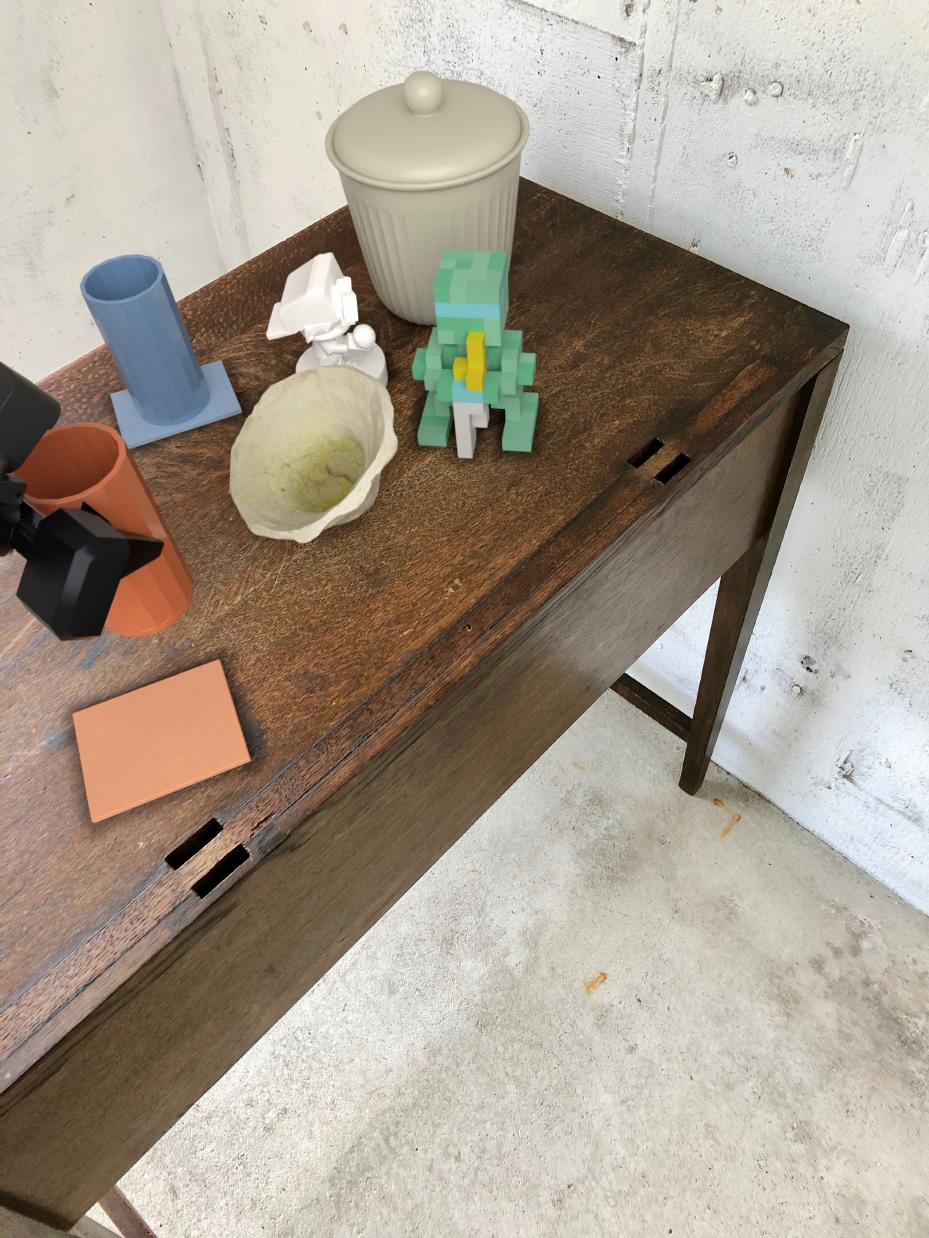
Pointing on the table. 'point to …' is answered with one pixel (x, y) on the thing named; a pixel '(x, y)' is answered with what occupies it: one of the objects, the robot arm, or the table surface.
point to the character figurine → (326, 319)
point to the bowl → (312, 452)
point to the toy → (474, 357)
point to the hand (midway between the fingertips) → (127, 522)
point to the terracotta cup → (112, 517)
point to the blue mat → (144, 432)
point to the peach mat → (158, 740)
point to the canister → (428, 180)
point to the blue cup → (146, 338)
